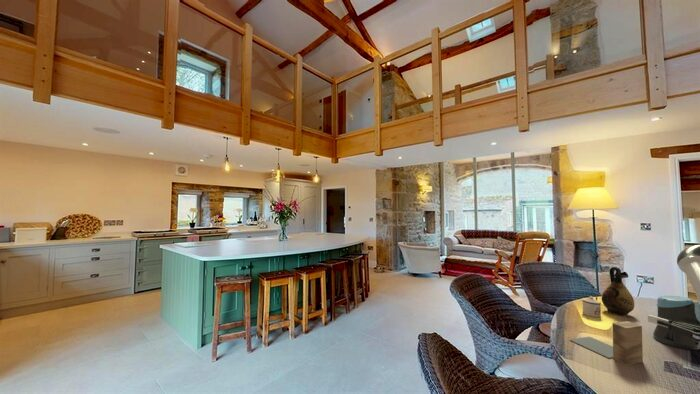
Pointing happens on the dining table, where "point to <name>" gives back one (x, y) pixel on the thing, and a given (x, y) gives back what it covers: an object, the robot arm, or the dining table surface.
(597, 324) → the dining table surface
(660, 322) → the robot arm
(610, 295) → the ceramic jug
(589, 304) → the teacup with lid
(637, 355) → the walnut slab
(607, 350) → the slate mat
